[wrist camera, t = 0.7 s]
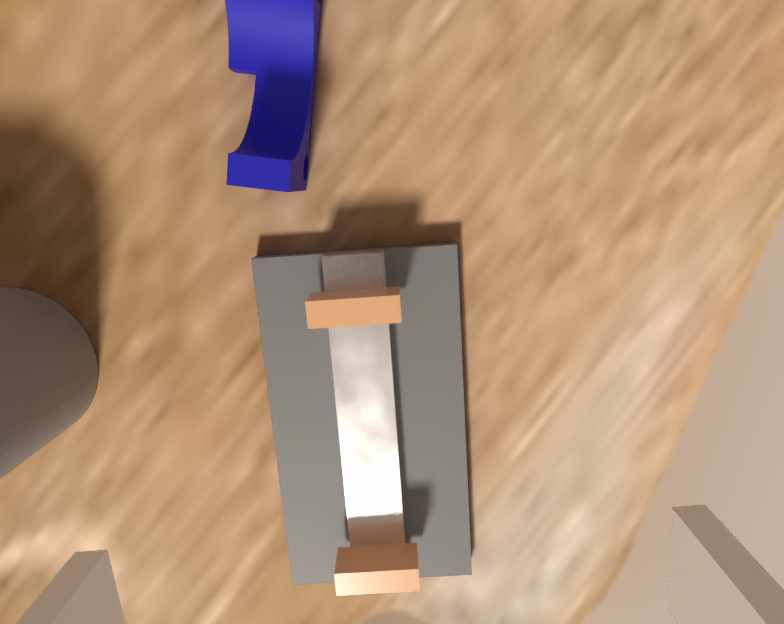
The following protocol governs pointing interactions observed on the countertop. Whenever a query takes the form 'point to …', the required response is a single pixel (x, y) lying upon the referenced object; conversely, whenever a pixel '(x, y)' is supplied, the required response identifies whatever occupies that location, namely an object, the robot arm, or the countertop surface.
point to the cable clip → (274, 89)
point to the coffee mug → (40, 373)
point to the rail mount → (368, 413)
